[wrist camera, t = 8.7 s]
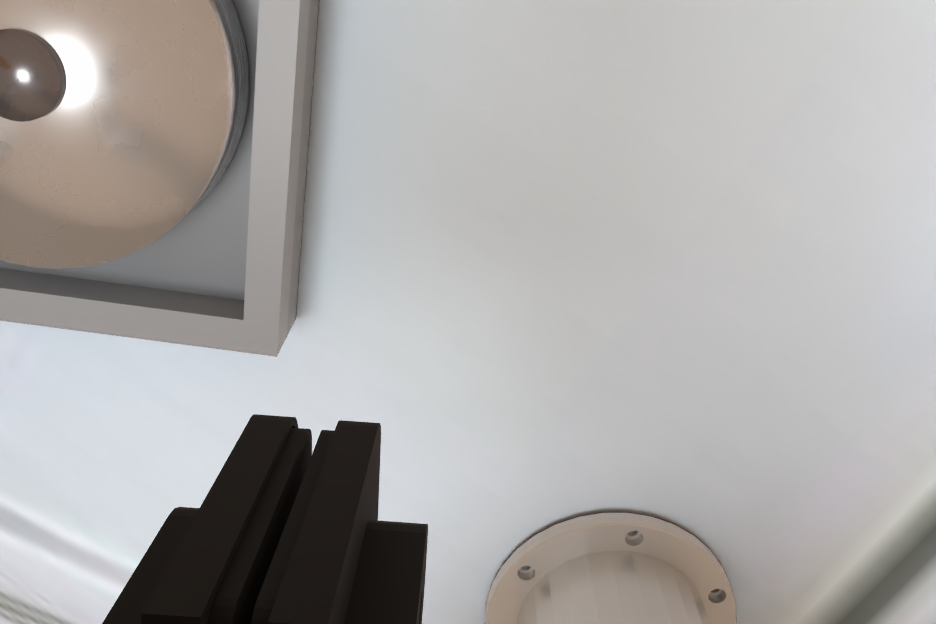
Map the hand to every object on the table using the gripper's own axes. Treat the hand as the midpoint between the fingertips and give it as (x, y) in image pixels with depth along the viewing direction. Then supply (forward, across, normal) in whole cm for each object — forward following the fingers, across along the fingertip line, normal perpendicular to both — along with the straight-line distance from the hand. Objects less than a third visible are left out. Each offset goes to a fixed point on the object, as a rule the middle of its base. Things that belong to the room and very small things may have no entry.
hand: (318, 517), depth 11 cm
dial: (+24, +14, -3) cm, 28 cm away
